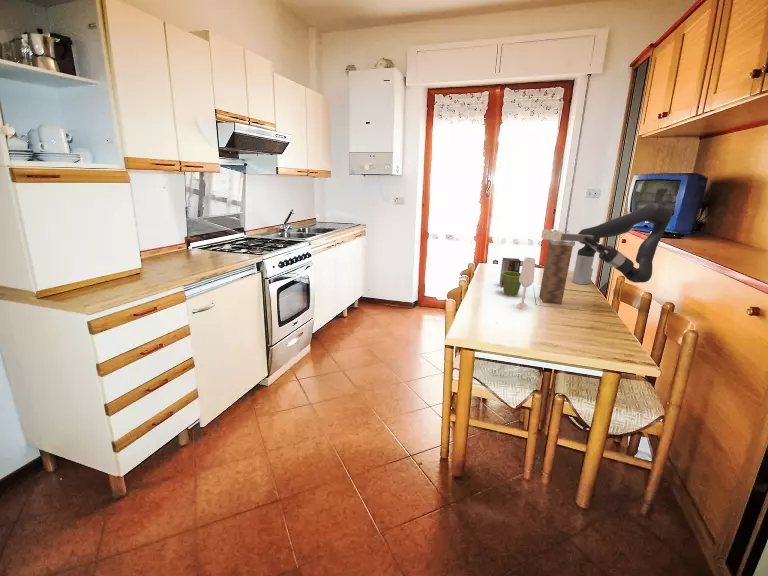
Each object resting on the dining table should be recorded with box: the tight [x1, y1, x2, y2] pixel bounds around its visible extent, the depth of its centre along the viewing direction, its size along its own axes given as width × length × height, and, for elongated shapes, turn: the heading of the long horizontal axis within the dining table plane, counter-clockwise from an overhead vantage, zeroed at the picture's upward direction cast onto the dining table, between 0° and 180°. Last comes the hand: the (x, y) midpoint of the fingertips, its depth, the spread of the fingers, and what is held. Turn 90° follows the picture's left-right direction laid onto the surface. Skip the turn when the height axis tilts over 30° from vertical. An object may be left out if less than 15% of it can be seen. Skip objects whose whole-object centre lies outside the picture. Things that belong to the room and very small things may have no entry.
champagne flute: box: [514, 256, 536, 309], centre depth 184 cm, size 7×7×24 cm
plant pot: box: [502, 271, 522, 297], centre depth 205 cm, size 12×12×11 cm
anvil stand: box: [538, 239, 576, 305], centre depth 193 cm, size 10×10×32 cm
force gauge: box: [540, 228, 594, 242], centre depth 188 cm, size 23×5×5 cm, turn 81°
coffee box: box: [498, 257, 522, 288], centre depth 218 cm, size 9×6×16 cm
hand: (585, 238), depth 187 cm, fingers open, 8 cm apart
